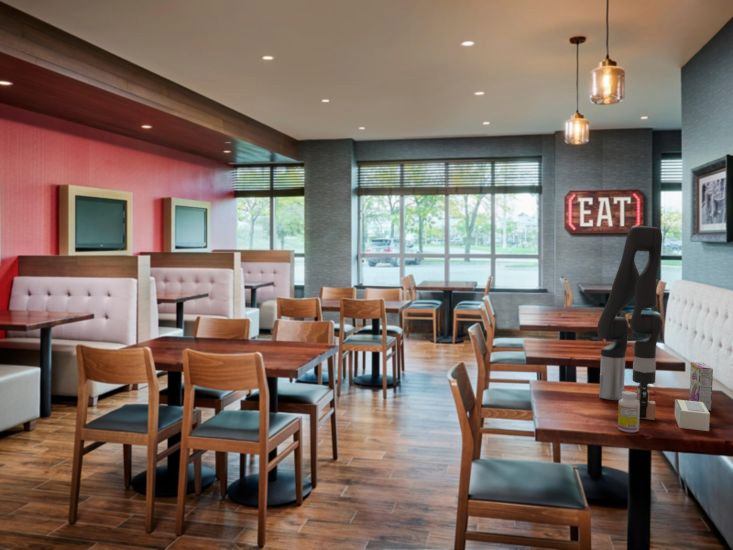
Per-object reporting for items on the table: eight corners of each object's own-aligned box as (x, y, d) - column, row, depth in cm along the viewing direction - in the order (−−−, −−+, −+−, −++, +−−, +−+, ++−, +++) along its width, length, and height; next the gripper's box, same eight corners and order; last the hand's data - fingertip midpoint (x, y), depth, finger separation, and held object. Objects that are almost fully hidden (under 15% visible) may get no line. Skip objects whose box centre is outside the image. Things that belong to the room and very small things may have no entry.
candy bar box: (688, 402, 243) (690, 361, 242) (701, 403, 242) (703, 362, 241) (697, 409, 232) (699, 367, 231) (711, 410, 231) (713, 368, 230)
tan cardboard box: (630, 417, 221) (631, 400, 220) (630, 414, 224) (630, 398, 224) (654, 419, 218) (655, 403, 217) (654, 416, 221) (654, 400, 221)
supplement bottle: (624, 425, 211) (625, 389, 210) (642, 430, 206) (644, 393, 205) (613, 429, 207) (615, 392, 206) (632, 434, 201) (634, 396, 201)
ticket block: (679, 427, 209) (680, 410, 209) (674, 415, 224) (675, 398, 224) (708, 431, 206) (709, 413, 206) (702, 418, 221) (702, 401, 221)
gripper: (632, 364, 228) (630, 409, 229) (633, 372, 215) (631, 419, 216) (654, 366, 225) (652, 412, 226) (657, 374, 212) (655, 422, 213)
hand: (642, 415), depth 221 cm, fingers closed on tan cardboard box, 4 cm apart
